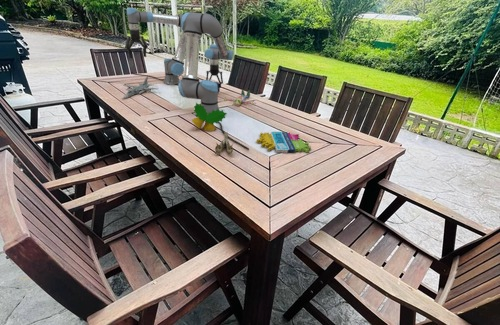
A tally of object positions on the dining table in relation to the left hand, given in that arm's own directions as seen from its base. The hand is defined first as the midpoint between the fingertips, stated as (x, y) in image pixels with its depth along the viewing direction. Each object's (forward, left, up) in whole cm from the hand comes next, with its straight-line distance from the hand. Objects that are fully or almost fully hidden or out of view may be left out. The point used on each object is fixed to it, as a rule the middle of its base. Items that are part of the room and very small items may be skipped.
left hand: (138, 57), depth 224 cm
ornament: (+108, -28, -27) cm, 115 cm away
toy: (+87, +35, -27) cm, 97 cm away
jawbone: (+136, -46, -27) cm, 146 cm away
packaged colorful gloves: (+154, -15, -27) cm, 157 cm away
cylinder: (+56, +35, -25) cm, 71 cm away
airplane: (+10, -10, -27) cm, 30 cm away
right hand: (+56, +35, -24) cm, 70 cm away
